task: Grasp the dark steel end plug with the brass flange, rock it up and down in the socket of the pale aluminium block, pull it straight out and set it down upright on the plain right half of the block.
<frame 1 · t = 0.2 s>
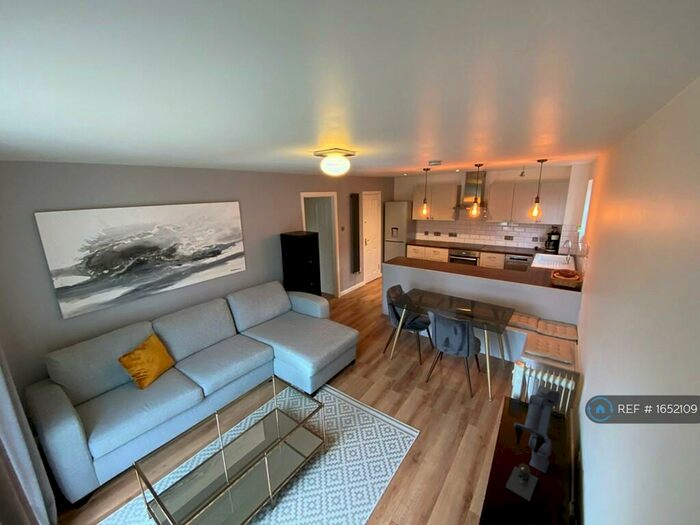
hand: (526, 448, 139), 31 cm above the table, tool tilted 45°, fingers open, 7 cm apart
socket block: (521, 484, 153), on the table
pipe: (538, 433, 185), on the table
end plug: (524, 478, 156), resting on socket block
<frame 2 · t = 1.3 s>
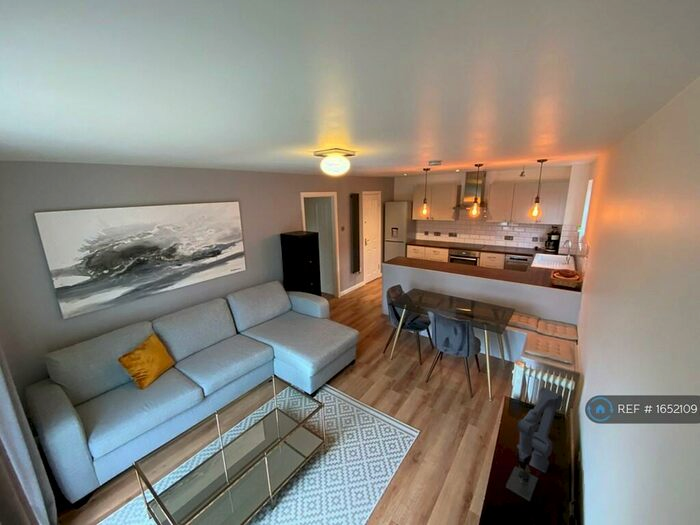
hand: (524, 463, 154), 10 cm above the table, tool pointing down, fingers open, 7 cm apart
nothing on the table moved.
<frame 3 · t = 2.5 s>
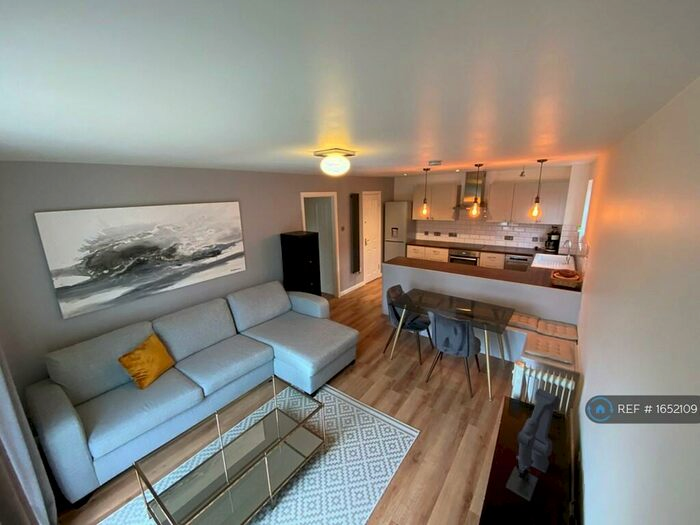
hand: (524, 474, 155), 3 cm above the table, tool pointing down, fingers closed on end plug, 5 cm apart
end plug: (524, 478, 156), point 1 cm above the table, touching gripper, socket block
everything else where it was.
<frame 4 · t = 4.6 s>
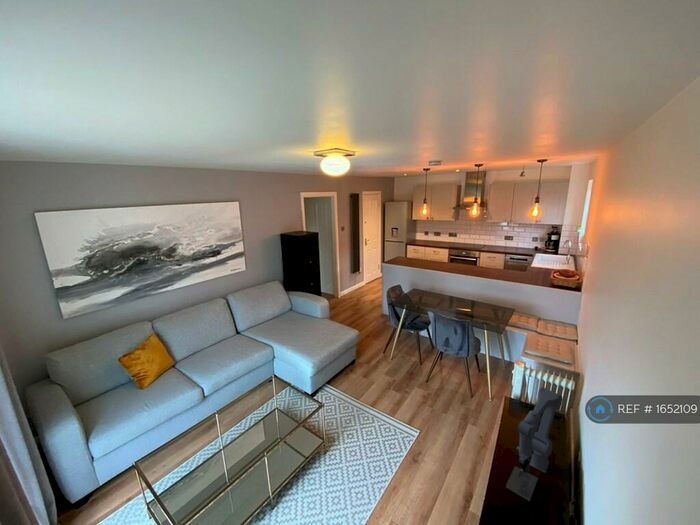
hand: (524, 465, 154), 9 cm above the table, tool pointing down, fingers closed on end plug, 5 cm apart
end plug: (524, 469, 154), point 6 cm above the table, touching gripper
everything else where it was.
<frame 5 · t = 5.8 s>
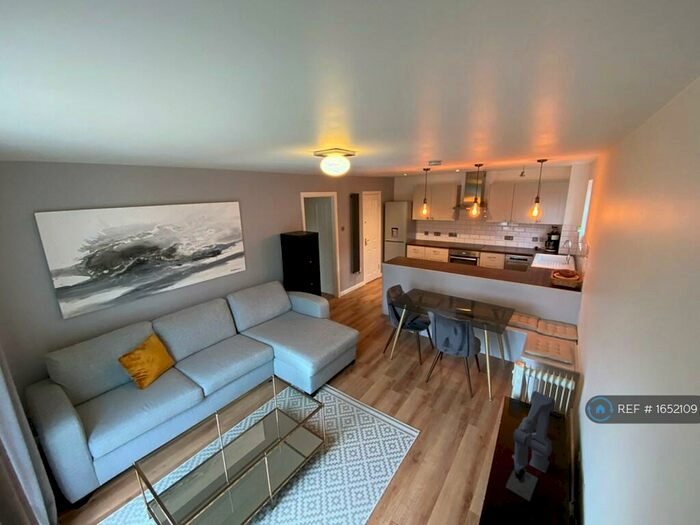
hand: (520, 475, 149), 9 cm above the table, tool pointing down, fingers closed on end plug, 5 cm apart
end plug: (520, 479, 149), point 6 cm above the table, touching gripper
everything else where it was.
when the fingers open (6 cm above the table, at t = 6.9 s): end plug stays where it is, resting on socket block.
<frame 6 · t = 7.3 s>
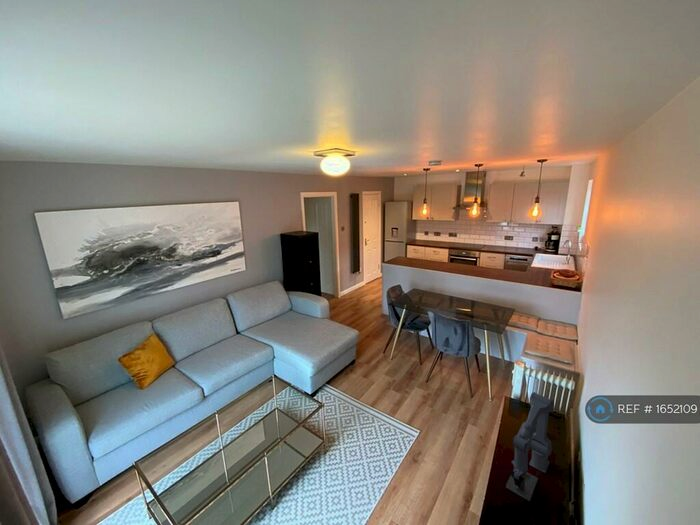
hand: (520, 480, 149), 6 cm above the table, tool pointing down, fingers open, 7 cm apart
end plug: (520, 486, 150), point 2 cm above the table, touching socket block
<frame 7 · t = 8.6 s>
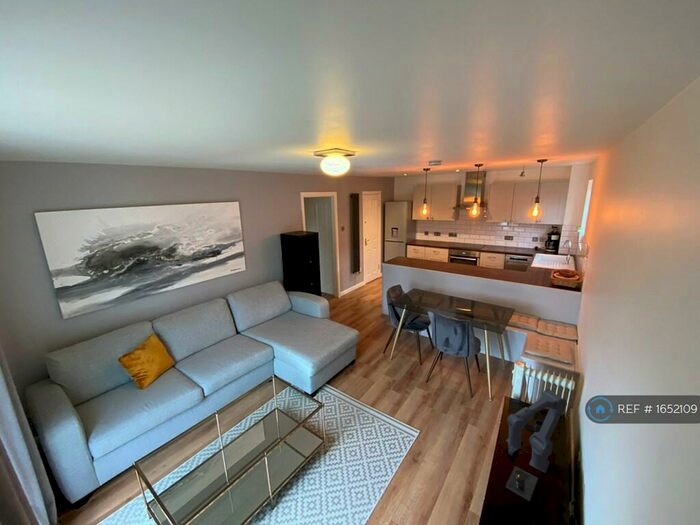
hand: (514, 457, 159), 9 cm above the table, tool pointing down, fingers open, 7 cm apart
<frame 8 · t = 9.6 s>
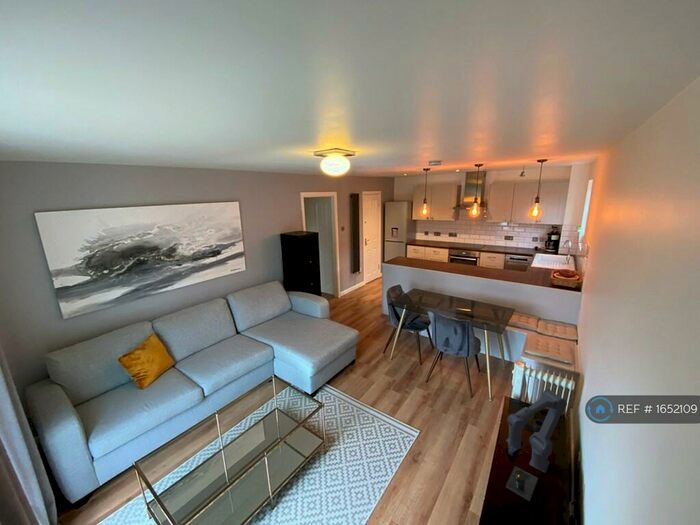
hand: (514, 457, 159), 9 cm above the table, tool pointing down, fingers open, 7 cm apart
at the end: end plug 0.5 cm from the target spot, point 2.0 cm above the table; end plug tilted 0°; the gripper is holding nothing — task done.
